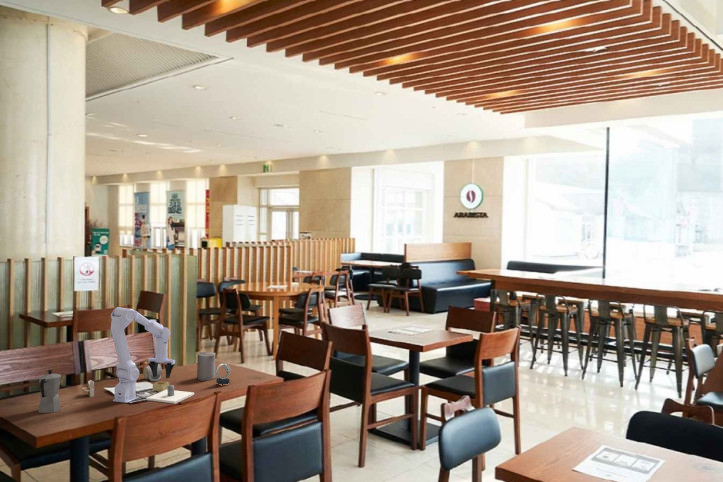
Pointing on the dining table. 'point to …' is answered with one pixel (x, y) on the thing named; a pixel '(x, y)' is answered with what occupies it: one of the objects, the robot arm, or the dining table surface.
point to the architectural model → (90, 388)
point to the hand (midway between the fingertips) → (161, 377)
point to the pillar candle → (206, 365)
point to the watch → (223, 379)
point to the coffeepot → (49, 392)
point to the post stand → (170, 395)
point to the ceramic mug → (149, 375)
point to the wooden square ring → (160, 386)
